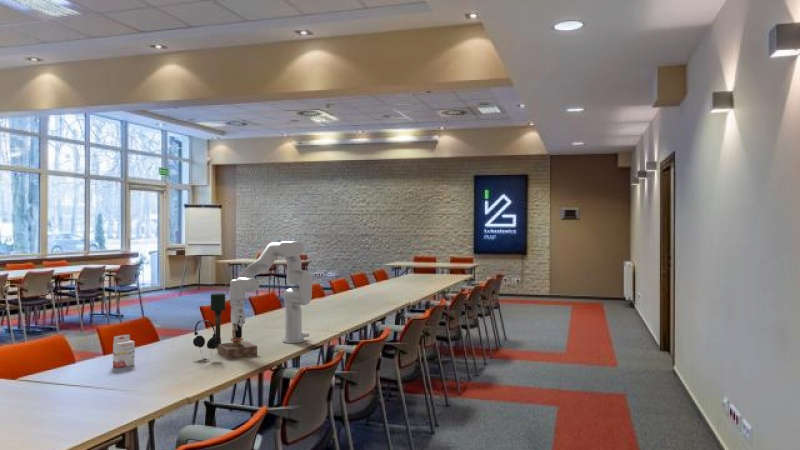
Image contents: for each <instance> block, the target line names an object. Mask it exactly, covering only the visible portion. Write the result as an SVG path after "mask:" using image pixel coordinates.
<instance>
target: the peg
mask: <svg viewBox="0 0 800 450" xmlns="http://www.w3.org/2000/svg"><path fill="white" fill-rule="evenodd" d="M238 326H239V325H238ZM232 329H233V336H232V337H231V338H230V342H233V346H240V345H241V341H244V338H243V336H242V337H239V338H236V325H233V328H232Z"/></svg>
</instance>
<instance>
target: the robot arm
mask: <svg viewBox="0 0 800 450" xmlns="http://www.w3.org/2000/svg"><path fill="white" fill-rule="evenodd" d="M304 251H305V245H304V244H303V242H301V241H299V240H297V241H295V240H283V241H282V240H281V241H280V242H278V241H277V242H275V241H274V242H270V243H268V244H267V246H266V247H265V248H264V249H263V251H262V252H261V254H260V255H259V256H258V258H257V259H256V260H255V261H254V262H252V263H251V264H249V265H248V266H246V267H245V268H244V269H243V270H242V271H241V272H240V273H239V274H238V276H237V278H235V279H231V280H230V282H229V283H230V284H229V306H230V322H231V324H232V325H231V327H232V335H231V336H232V337H233V325H236V338H239V337H242V338H243V326H244V324H246V314H245V312H246V311H245V310H246V309H245V302H246V299H245V298H246V297H245V295H246V294H245V293H246V292H247V293H254V292H257V291H258V290H259V288H260V282H259V280H258V279H256V278H253V277H255V276H257V275H259V274H262V273H264V272H265V273H266V272H267V271H269V270H270V269H271V267H272V266H273V264H274V263H275V261H276V260H277V259H278V258H284V259H285V261H286V282H287V284H288V285H289V286H293V287H289V288H288V289H286V290H285V291H284V292H283V302H284V306H285V309H284V311H285V319H284V321H285V323H284V324H285V328H284V329H285V332H284V333H285V335H284V336H285V338H283V339H282V342H283V343H286V344H298V343H302V342H304V341H305V338H308V337H310V333H303V332H302V330H303V328H302V327H303V326H302V324H303V323H302V321H303V320H302V319H303V315H302V314H303V312H302V308H301V307H302V306H308V305H309V304H310V303H311V301H312V298H313V297H312V296H313V295H312V294H313V278H312V274H311V273H310V271H308V270H305V269H302V259H301V257H300V256H301V255H303V254H304ZM238 325H239V326H238Z"/></svg>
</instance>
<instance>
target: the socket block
mask: <svg viewBox="0 0 800 450" xmlns="http://www.w3.org/2000/svg"><path fill="white" fill-rule="evenodd" d="M217 354H218V355H220V356H222V357H223V358H224V359H226V360H233V359H239V358H246V357H248V358H249V357H255V356H256V357H257V356H258V345H256V344H254V343H252V342H249V341H248V340H243V341H241V345H240V346H233V341H231V342H225V343H221V344H218V348H217Z"/></svg>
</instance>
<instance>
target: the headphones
mask: <svg viewBox="0 0 800 450" xmlns="http://www.w3.org/2000/svg"><path fill="white" fill-rule="evenodd" d="M201 322H206V323H208V324H209V325H210V326H211V327H212V330H213V333H212V337H210V338H209V339H208V340H207V343H206V339H205V337H204V336H203V335H199V332H198V325H199V323H201ZM193 335H194V336H196V337H194V338H193V340H192V343H193V346H194V347H197V348H202V347H204V346H205V345H206V348H207V349H209V350H210V351H211V353H210V355H212V353H213V352H212V351H213V350H215V349H218V348H217V346H218V344H219V341H218V340H217V339H216V338H215V337H216V330H215V326H214V324H213V323H212V322H211V321H210V320H209V319H208V320H207V319H203V320H198V322H196V324H195V327H194V333H193ZM200 352H202V351H201V349H200ZM206 361H208V358H205V357H203V361H201V359H200V360H198V363H203V364H205V363H206ZM192 362H193V363H195V361H192Z"/></svg>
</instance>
